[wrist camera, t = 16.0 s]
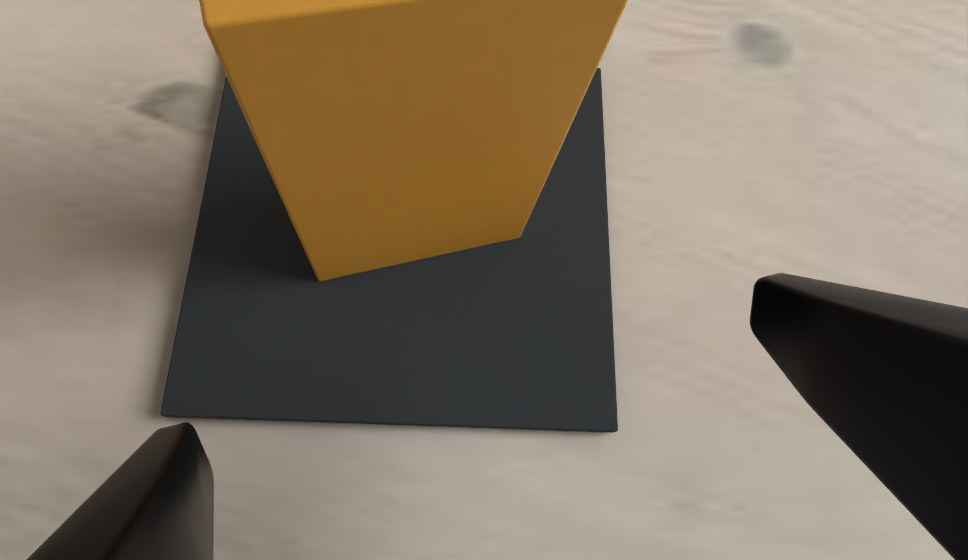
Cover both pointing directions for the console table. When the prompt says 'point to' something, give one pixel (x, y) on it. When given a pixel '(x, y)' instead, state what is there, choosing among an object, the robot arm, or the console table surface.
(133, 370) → the console table surface
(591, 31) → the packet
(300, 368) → the mat
